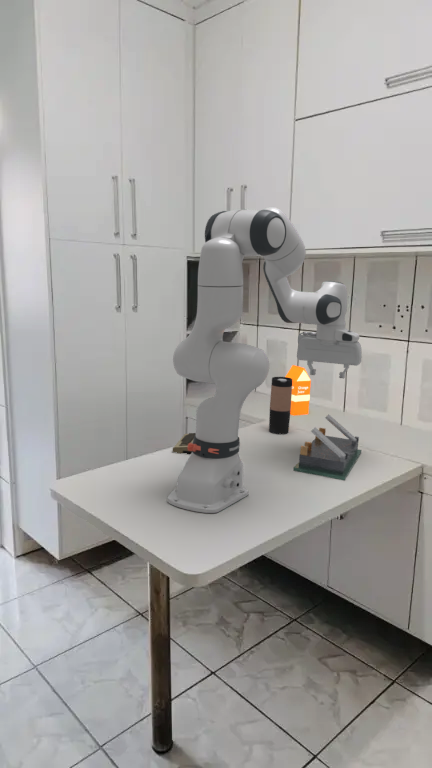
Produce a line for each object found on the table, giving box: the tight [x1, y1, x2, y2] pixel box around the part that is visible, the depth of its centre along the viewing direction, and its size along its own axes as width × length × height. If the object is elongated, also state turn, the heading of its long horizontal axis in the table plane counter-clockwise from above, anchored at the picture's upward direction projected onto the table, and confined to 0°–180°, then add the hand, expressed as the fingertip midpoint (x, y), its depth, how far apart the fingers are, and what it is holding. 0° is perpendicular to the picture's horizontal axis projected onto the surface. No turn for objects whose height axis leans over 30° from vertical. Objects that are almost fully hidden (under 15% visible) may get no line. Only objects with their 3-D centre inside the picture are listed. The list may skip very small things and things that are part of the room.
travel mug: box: [268, 376, 292, 435], centre depth 191 cm, size 8×8×20 cm
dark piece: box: [292, 427, 362, 481], centre depth 162 cm, size 28×15×7 cm, turn 155°
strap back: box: [324, 414, 357, 441], centre depth 169 cm, size 3×12×1 cm
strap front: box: [310, 426, 346, 458], centre depth 153 cm, size 3×12×1 cm
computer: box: [172, 432, 196, 455], centre depth 172 cm, size 16×8×3 cm, turn 170°
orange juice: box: [284, 364, 312, 417], centre depth 221 cm, size 8×9×20 cm
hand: (327, 376), depth 168 cm, fingers open, 8 cm apart
